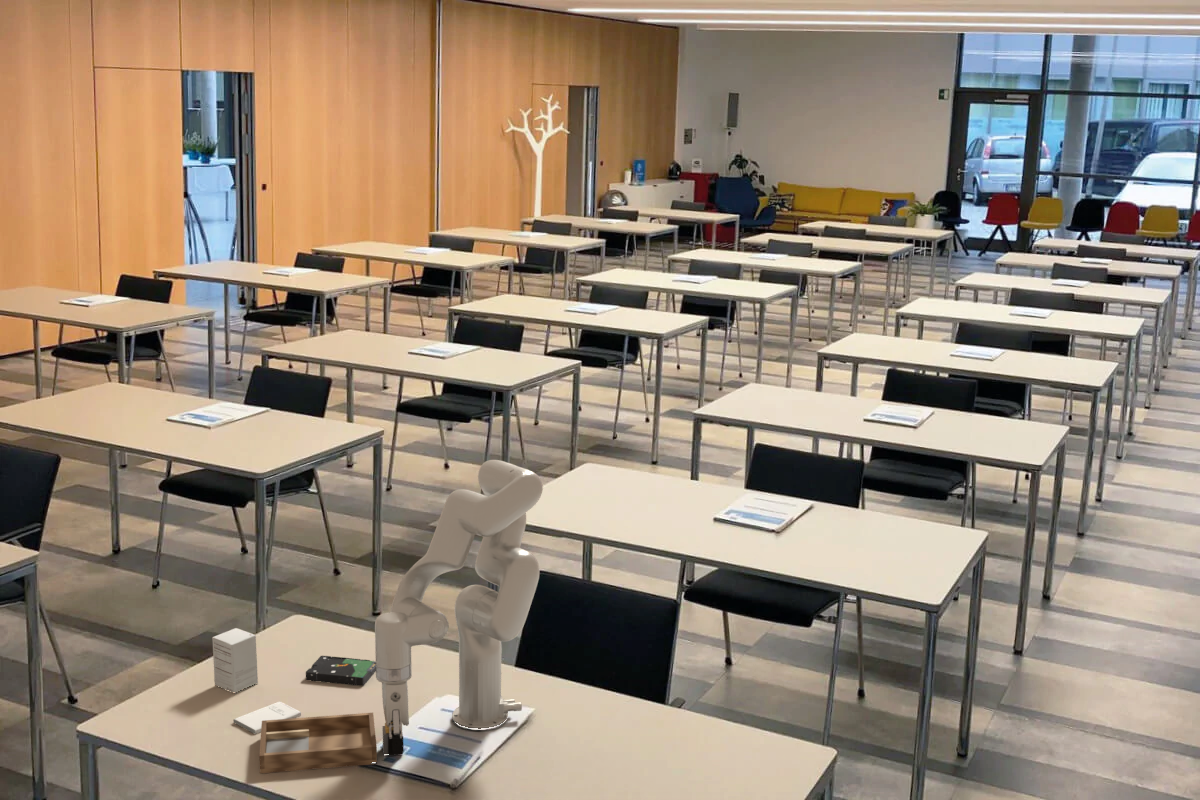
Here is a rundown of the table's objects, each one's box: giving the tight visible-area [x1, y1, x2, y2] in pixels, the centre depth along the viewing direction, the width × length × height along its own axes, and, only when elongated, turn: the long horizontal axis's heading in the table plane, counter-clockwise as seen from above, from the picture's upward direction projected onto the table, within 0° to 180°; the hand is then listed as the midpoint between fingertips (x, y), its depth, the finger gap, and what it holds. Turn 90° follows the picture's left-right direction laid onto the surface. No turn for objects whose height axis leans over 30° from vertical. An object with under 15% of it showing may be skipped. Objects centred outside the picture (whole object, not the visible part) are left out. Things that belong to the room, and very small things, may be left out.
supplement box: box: [211, 627, 259, 694], centre depth 312 cm, size 7×7×13 cm
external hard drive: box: [233, 700, 302, 735], centre depth 297 cm, size 2×8×12 cm
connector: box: [382, 722, 404, 755], centre depth 283 cm, size 4×4×6 cm
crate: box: [258, 712, 378, 774], centre depth 283 cm, size 24×16×4 cm, turn 102°
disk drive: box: [305, 655, 376, 687], centre depth 320 cm, size 10×3×15 cm
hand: (395, 748), depth 284 cm, fingers closed on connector, 3 cm apart
